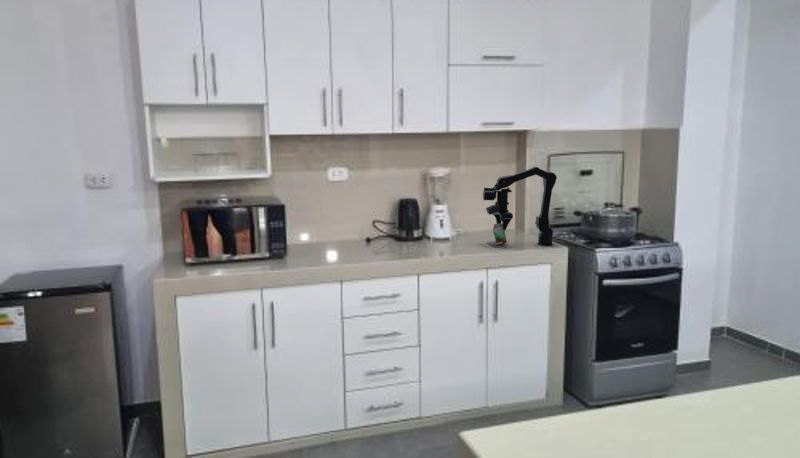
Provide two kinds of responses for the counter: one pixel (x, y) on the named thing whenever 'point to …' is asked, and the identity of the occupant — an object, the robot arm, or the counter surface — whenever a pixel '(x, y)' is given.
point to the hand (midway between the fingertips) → (501, 228)
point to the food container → (499, 234)
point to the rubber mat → (495, 244)
